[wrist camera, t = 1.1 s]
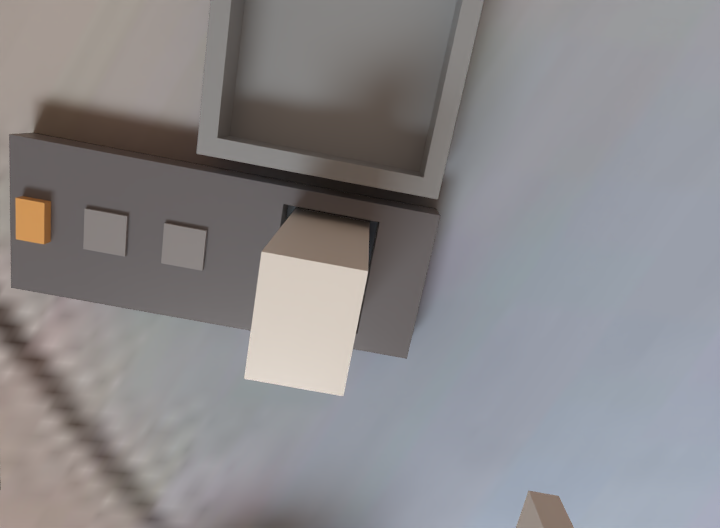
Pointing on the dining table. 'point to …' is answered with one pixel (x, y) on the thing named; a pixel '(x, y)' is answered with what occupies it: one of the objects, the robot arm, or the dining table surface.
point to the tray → (338, 87)
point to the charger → (309, 302)
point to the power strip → (191, 236)
